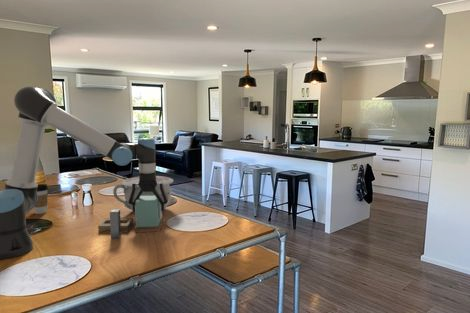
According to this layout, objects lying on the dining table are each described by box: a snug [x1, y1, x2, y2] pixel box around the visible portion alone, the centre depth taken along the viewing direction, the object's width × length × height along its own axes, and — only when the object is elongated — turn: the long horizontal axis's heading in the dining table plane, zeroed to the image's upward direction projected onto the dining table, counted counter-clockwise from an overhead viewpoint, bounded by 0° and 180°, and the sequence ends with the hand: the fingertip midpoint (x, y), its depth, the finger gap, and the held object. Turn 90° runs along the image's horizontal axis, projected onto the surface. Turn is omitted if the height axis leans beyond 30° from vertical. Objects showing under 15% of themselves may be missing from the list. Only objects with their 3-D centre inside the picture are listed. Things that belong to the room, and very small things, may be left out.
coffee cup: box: [33, 183, 49, 215], centre depth 179 cm, size 8×8×15 cm
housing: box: [135, 196, 162, 227], centre depth 157 cm, size 10×10×12 cm
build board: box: [97, 217, 134, 233], centre depth 157 cm, size 11×13×3 cm
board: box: [134, 218, 164, 233], centre depth 157 cm, size 11×11×10 cm
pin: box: [109, 208, 122, 240], centre depth 144 cm, size 3×3×12 cm
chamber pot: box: [112, 175, 174, 214], centre depth 182 cm, size 28×28×21 cm
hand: (148, 218), depth 157 cm, fingers open, 10 cm apart
